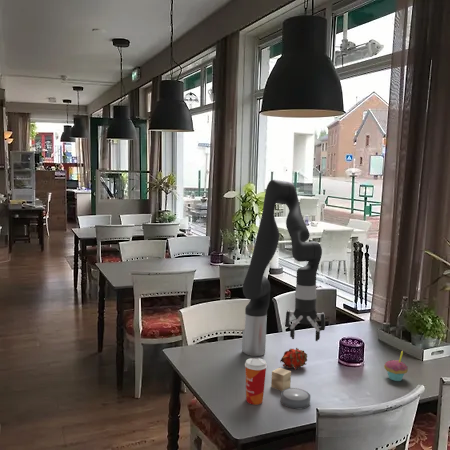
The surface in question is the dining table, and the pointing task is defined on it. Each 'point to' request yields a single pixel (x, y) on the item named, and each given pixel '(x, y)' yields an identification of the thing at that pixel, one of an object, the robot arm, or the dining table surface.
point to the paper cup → (255, 380)
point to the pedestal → (295, 398)
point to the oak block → (281, 379)
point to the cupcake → (396, 369)
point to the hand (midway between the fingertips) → (304, 339)
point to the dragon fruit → (294, 358)
